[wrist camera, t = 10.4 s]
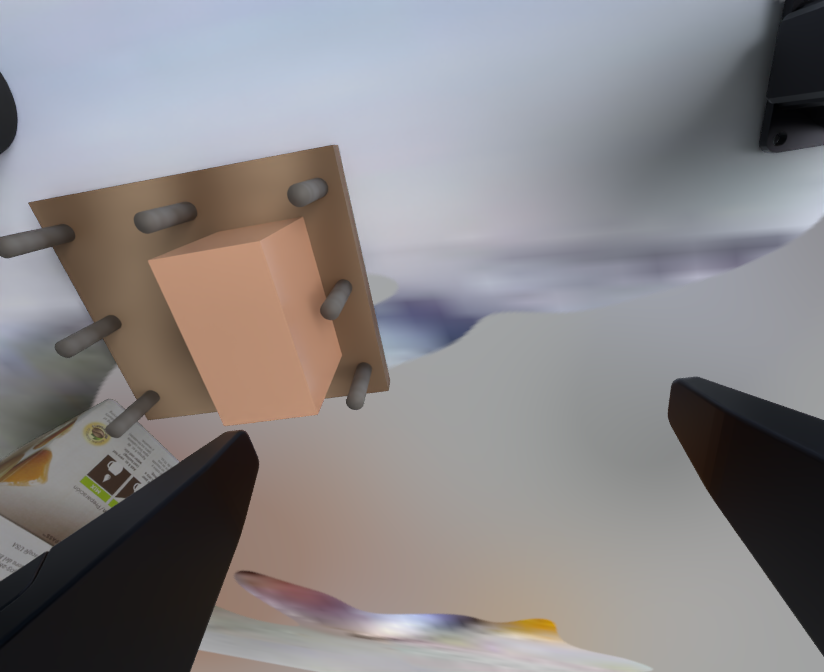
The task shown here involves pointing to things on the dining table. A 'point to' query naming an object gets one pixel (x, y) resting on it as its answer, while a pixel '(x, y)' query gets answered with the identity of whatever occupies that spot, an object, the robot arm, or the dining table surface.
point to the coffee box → (71, 481)
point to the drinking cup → (6, 115)
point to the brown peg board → (185, 223)
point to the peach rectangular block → (253, 319)
